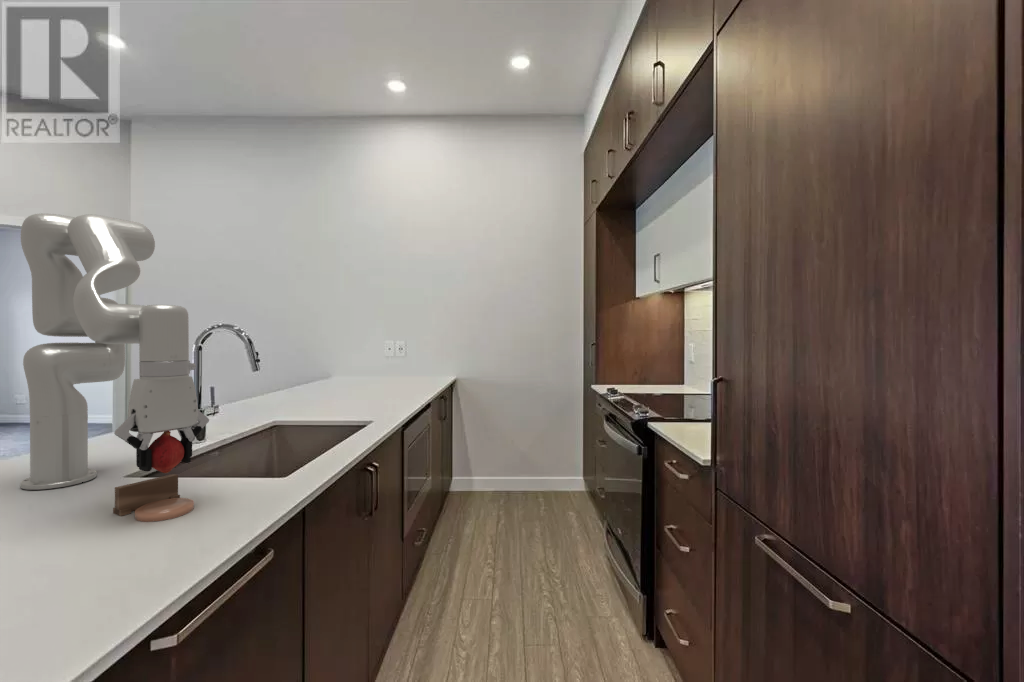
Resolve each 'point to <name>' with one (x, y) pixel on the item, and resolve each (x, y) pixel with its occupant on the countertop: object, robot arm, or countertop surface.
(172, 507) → the plate
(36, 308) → the robot arm
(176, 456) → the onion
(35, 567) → the countertop surface
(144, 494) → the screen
